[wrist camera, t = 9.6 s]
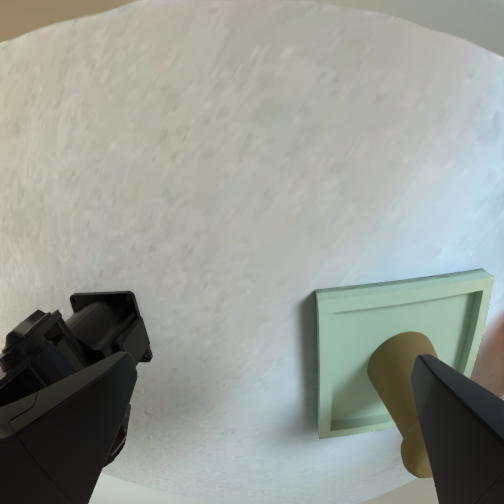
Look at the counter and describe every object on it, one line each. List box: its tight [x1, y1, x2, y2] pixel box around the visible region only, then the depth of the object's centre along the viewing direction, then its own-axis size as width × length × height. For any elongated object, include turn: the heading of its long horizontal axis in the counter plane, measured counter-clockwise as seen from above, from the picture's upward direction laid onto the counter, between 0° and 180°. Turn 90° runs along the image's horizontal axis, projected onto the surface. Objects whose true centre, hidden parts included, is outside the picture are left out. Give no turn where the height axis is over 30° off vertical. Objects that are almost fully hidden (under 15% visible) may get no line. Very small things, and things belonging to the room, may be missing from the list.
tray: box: [315, 269, 494, 439], centre depth 22 cm, size 14×14×2 cm
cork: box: [367, 331, 438, 478], centre depth 17 cm, size 6×6×11 cm
